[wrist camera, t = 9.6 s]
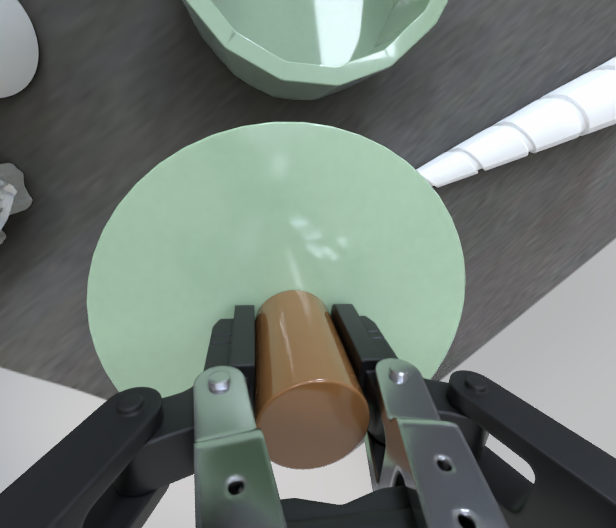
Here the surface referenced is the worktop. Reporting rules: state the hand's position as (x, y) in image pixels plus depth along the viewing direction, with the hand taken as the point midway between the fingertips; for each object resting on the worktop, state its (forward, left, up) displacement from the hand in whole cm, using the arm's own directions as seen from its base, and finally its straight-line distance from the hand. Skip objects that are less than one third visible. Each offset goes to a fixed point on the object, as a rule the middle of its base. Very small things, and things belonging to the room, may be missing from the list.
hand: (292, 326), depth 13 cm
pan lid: (0, 0, -1) cm, 1 cm away
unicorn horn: (-8, +18, -14) cm, 24 cm away
